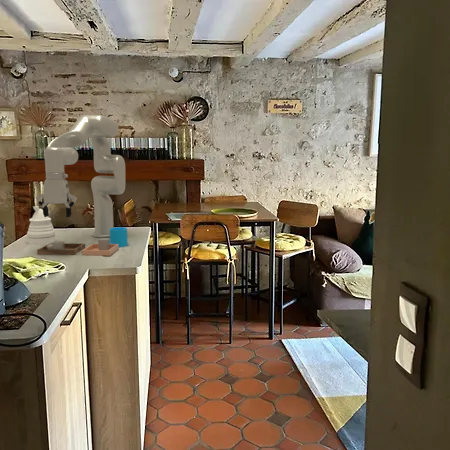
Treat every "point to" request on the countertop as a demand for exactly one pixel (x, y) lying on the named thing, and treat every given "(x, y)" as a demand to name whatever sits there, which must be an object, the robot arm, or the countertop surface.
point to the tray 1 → (69, 250)
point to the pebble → (50, 247)
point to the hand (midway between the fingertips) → (57, 216)
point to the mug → (118, 236)
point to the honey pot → (40, 229)
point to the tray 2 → (94, 250)
